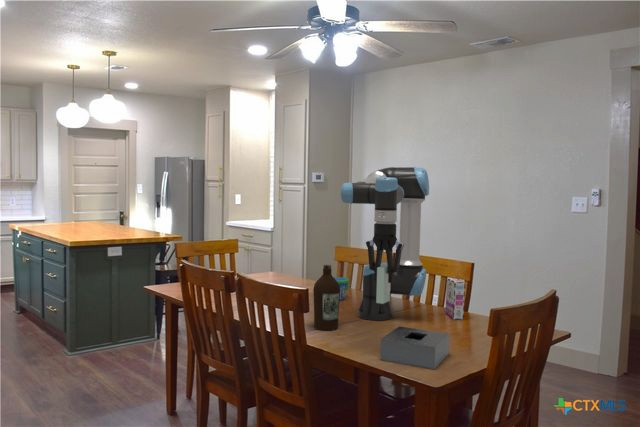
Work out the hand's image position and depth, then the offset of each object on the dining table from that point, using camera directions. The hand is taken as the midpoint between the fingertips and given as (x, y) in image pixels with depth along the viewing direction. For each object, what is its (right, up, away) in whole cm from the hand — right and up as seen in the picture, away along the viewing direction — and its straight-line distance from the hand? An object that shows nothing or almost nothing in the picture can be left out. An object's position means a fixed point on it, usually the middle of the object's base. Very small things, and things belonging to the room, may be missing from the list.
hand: (383, 291), depth 185 cm
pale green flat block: (0, -4, 0) cm, 4 cm away
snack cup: (-13, -16, +85) cm, 87 cm away
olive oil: (-19, -19, +30) cm, 41 cm away
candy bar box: (+37, -19, +53) cm, 67 cm away
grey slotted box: (+10, -21, -4) cm, 24 cm away
